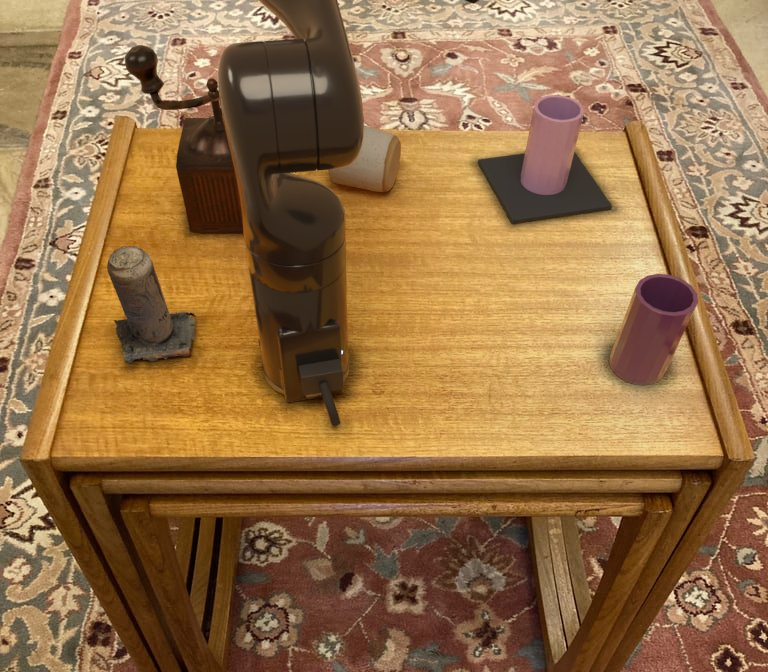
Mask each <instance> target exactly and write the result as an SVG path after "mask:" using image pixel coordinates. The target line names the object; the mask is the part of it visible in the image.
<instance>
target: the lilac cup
mask: <svg viewBox="0 0 768 672" xmlns="http://www.w3.org/2000/svg"><path fill="white" fill-rule="evenodd" d="M584 115H585V108H584V106H583V103H581V102H579V101H578V100H577V99H576V98H572V97H569V96H567V95H560V94H550V95H549V94H547V95H545V96H542V97H541V96H540V97H539V98H538V99H536V100H535V102H534V105H533V109H532V115H531V119H530V124H529V130H528V135H527V136H528V137H527V141H526V146H525V151H524V153H525V156H524V161H523V167H522V172H521V178H520V180H521V184H522V185H523V186H524V187H525V188H526V189H527V190H529V191H530V192H533V193H536V194H540V195H553V194H557V193H559V192H561V191H562V190H564V188H565V187H566V183H567V180H568V176H569V172H570V168H571V164H572V160H573V155H574V152H575V151H576V147H577V143H578V139H579V134H580V132H581V131H580V130H581V126H582V122H583V118H584Z"/></svg>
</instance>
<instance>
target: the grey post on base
mask: <svg viewBox="0 0 768 672" xmlns="http://www.w3.org/2000/svg"><path fill="white" fill-rule="evenodd" d="M106 267H107V273H108V276H109V278H110V280H111V283H112V286H113V289H114V290H115V293H116V295H117V299H118V301H119V304H120V306H121V308H122V311H123V313H124V316H125V317H126V319H118V320H117V319H113V320H112V321H113V322H114V323H115V324H116V327H115V331H116V332H115V333H116V335H117V338H118V340H119V341H120V344H121V345H120V346H121V347H120V348H121V349H122V348H123V349H122V351H121V352H122V355H123V359H124V360H125V363H129V364H130V365H131V364H132V363H133V362H134V361H136V360H141V359H142V361H146V360H147V361H149V362H157V361H158V360H159V359H164V360H165V361H166V360H167V359H169V358H175V357H177V356H178V357H189V356H191V355H190V353H191V351H192V348H191V347H192V346H191V345H192V342H193V341H195V340H196V339H195V329H196V326H195V325H196V317H197V315H196V314H195V312H189V311H188V312H187V311H182V312H175V313H173V312H171V313H170V311H169V308H168V305H167V302H166V299H165V296H164V293H163V290H162V287H161V285H160V281H159V277H158V275H157V271H156V269H155V266H154V263H153V259H152V258H151V256H150V255H149V254H148V253H147V251H145V250H144V249H143V248H142V247H137V246H134V245H129V246H125V245H124V246H121V247H119V248H116V249H114V250H113V252H112V253H111V254H110V255H109V257H108V260H107V265H106ZM192 317H194V318H192Z"/></svg>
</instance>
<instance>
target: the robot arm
mask: <svg viewBox="0 0 768 672" xmlns="http://www.w3.org/2000/svg"><path fill="white" fill-rule="evenodd" d="M464 1H465V2H468V3H470V4H476V3H478V2H479V1H480V0H464ZM258 2H260V3H261V4H262V5H263V6H264V7H265V8H266V9H267V10H268V11H269V12H271V13H272V15H274V16H275V17H276V18H277V19H278V20H280V22H282V24H283V25H284V26H285V27H286V28H287V29H288V30H289V31H290V32H291V34H292V35H293V37H294V38H289V39H288V38H287V39H273V40H259V41H258V40H256V41H243V42H236V43H231V44H229V45H227V46H226V47H225V48H224V49H223V51H222V53H221V55H220V59H219V62H218V69H217V82H218V88H217V89H218V91H219V97H220V99H219V104H220V108H221V110H222V116H223V121H224V126H225V131H226V135H227V140H228V144H229V149H230V154H231V158H232V163H233V168H234V173H235V178H236V183H237V188H238V195H239V201H240V209H241V217H242V225H243V240H244V245H245V246H244V247H245V252H246V260H247V267H248V272H249V281H250V286H251V294H252V299H253V306H254V312H255V320H256V327H257V333H258V346H259V348H260V351H261V357H262V371H263V376H264V378H265V381H266V382H267V384H268V385H269V386H270V387H271V388H272V389H273V390H274V391H275V392H277V393H279V394H281V395H282V396H283V397H284V399H285V402H286V403H294V402H300V401H306V400H312V399H318V398H322V399H323V402H324V406H325V408H326V412H327V415H328V418H329V422H330V424H331V426H332V427H338V426H340V425H341V424H342V423H341V418H340V416H339V413H338V408H337V406H336V403H335V400H334V395H339V394H340V395H341V394H343V392H344V389H345V388H344V383H345V382H346V380H347V378H348V376H349V372H350V357H349V336H348V335H349V334H348V329H349V328H348V291H347V290H348V288H347V231H346V226H347V225H346V212H345V208H344V205H343V202H342V200H341V198H340V197H339V196H338V195H337V193H336V192H334V190H332V189H331V188H330V187H328V186H327V185H325V184H323V183H321V182H319V181H317V180H315V179H311V178H309V177H306V176H302V175H298V174H296V173H306V172H307V173H308V172H316V171H319V172H320V171H327V170H328V171H329V169H335V168H340V167H343V166H347V165H349V164H351V163H352V162H353V161H354V160H355V159H356V158H357V156H358V154H359V152H360V150H361V147H362V142H363V135H364V126H365V116H364V106H363V104H364V103H363V97H362V92H361V91H362V90H361V85H360V82H359V81H360V80H359V76H358V72H357V69H356V63H355V59H354V57H353V51H352V48H351V45H350V41H349V37H348V34H347V31H346V26H345V23H344V19H343V17H342V12H341V8H340V4H339V2H338V0H258Z"/></svg>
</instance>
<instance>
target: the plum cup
mask: <svg viewBox="0 0 768 672" xmlns="http://www.w3.org/2000/svg"><path fill="white" fill-rule="evenodd" d="M698 304H699V296H698V293H697V291H696V289H695V288H694V287H693V285H692V284H690V283H689V282H687V281H686V280H684V279H682V278H681V277H678V276H675V275H672V274H667V273H666V274H665V273H653V274H648V275H646V276H644V277H642V278H641V279H639V280H638V282H637V284H636V285H635V287H634V290H633V293H632V296H631V298H630V300H629V304H628V306H627V309H626V312H625V314H624V317H623V320H622V322H621V325H620V327H619V329H618V333H617V336H616V338H615V341H614V343H613V345H612V348H611V351H610V355H609V361H608V362H609V367H610V368H611V371H612V372H613V373H614V375H616V376H617V377H618V378H619V379H620V380H622V381H625V382H626V383H629V384H633V385H637V386H649V385H653V384H655V383H657V382H660V380H661V379H663V377H664V376H665V373H666V372H667V369H668V367H669V366H670V363H671V361H672V359H673V357H674V355H675V353H676V351H677V349H678V346H679V344H680V343H681V340H682V337H683V335H684V334H685V332H686V329H687V327H688V325H689V324H690V320H691V318H692V316H693V314H694V313H695V310H696V308H697V306H698Z"/></svg>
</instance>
